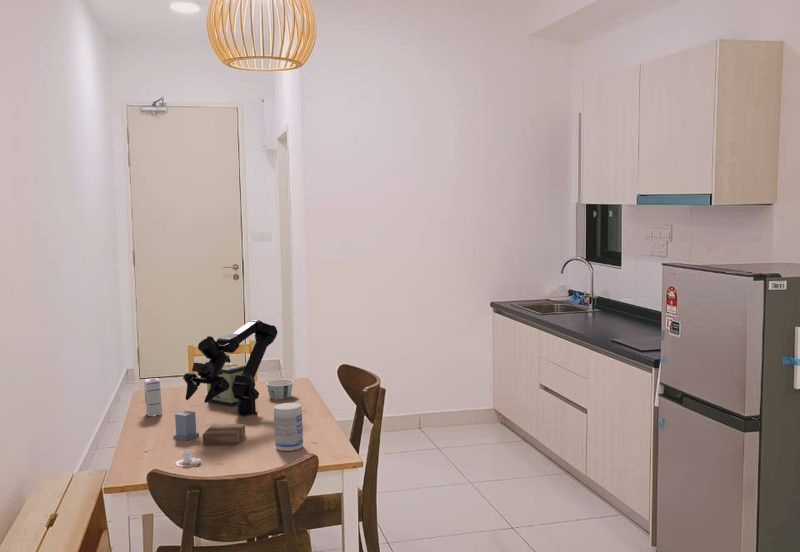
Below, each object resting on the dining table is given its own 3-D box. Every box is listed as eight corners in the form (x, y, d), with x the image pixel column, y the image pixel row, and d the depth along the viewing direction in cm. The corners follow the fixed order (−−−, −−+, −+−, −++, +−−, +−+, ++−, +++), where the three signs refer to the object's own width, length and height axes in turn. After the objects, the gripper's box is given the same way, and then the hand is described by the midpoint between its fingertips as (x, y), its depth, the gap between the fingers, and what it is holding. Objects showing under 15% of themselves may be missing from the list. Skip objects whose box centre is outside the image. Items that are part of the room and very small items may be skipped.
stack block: (212, 435, 277) (212, 424, 276) (245, 434, 276) (244, 424, 276) (203, 445, 265) (202, 434, 265) (236, 445, 264) (236, 434, 264)
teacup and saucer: (204, 465, 246) (204, 453, 245) (180, 470, 242) (179, 458, 241) (196, 458, 253) (195, 446, 253) (172, 462, 249) (171, 450, 249)
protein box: (225, 396, 333) (224, 361, 332) (250, 401, 324) (248, 365, 323) (207, 401, 325) (205, 366, 323) (231, 406, 316) (230, 370, 314)
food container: (299, 396, 331) (299, 381, 330) (278, 402, 322) (277, 387, 321) (282, 392, 339) (281, 377, 338) (260, 397, 330) (260, 383, 329)
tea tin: (186, 433, 279) (185, 409, 279) (199, 435, 276) (198, 411, 276) (173, 438, 274) (172, 414, 273) (186, 440, 271) (185, 416, 270)
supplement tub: (304, 450, 257) (303, 408, 256) (276, 453, 255) (274, 410, 253) (301, 442, 266) (300, 401, 265) (274, 444, 264) (272, 403, 263)
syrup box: (162, 415, 305) (160, 380, 303) (147, 417, 302) (145, 381, 301) (160, 411, 310) (158, 377, 309) (145, 414, 307) (143, 379, 306)
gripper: (185, 351, 286) (164, 386, 278) (223, 355, 277) (203, 391, 269) (200, 368, 294) (181, 402, 285) (238, 372, 285) (219, 408, 276)
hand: (195, 400), depth 279 cm, fingers open, 9 cm apart
